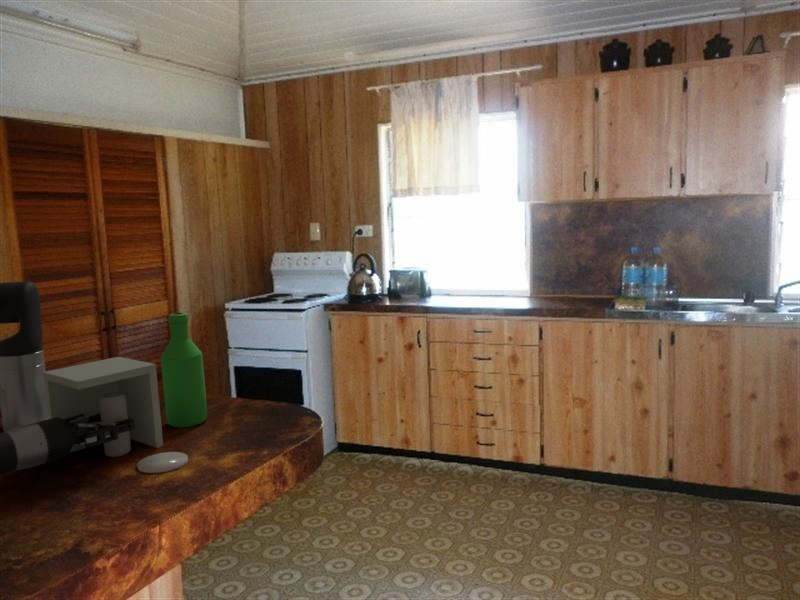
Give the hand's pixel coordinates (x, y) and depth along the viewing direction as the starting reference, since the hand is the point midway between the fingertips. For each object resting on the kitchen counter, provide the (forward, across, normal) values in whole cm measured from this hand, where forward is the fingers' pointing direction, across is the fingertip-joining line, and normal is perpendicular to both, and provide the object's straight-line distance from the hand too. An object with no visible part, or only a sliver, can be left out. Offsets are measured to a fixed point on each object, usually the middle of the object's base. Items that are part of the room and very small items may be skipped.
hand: (122, 419), depth 131 cm
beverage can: (-2, 0, +7) cm, 7 cm away
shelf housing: (-2, +3, +7) cm, 7 cm away
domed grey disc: (0, -13, +6) cm, 15 cm away
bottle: (+18, +5, +7) cm, 20 cm away
